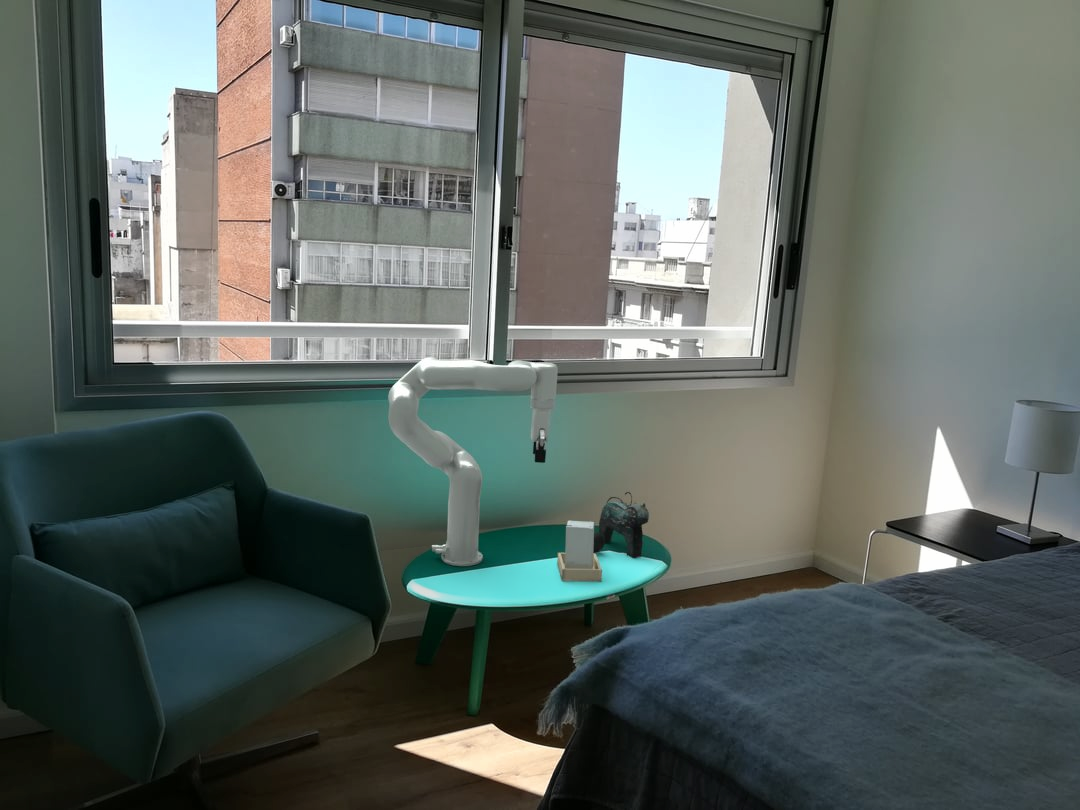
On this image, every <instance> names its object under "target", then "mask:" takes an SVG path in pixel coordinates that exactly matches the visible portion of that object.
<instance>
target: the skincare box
mask: <svg viewBox="0 0 1080 810" xmlns="http://www.w3.org/2000/svg"><path fill="white" fill-rule="evenodd" d="M594 533H595V522H594V521H583V520H581V521H580V520H567V524H566V525H565V552H564V553H565V568H569V569H593V545H594Z"/></svg>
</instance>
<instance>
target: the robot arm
mask: <svg viewBox="0 0 1080 810" xmlns="http://www.w3.org/2000/svg"><path fill="white" fill-rule="evenodd" d="M558 369H559V368H558V366H557V364H555V363H551V362H546V361H544V362H543V361H542V362H541V361H539V362H534V361H533V362H532V361H526V360H520V359H515V360H512V361H511V362H509V363H508V365H497V364H491V363H486V362H483V361H480V360H476V359H475V360H474V359H466V360H465V359H463V360H461V359H460V360H459V359H458V360H457V359H456V360H455V359H454V360H451V359H450V360H445V359H444V360H443V359H442V360H439V359H438V358H437V357H433V356H427V357H425V358H422V359H421V360H420V361H418V362H417V363H416V364H415V365H414V366H413V367H412V368H411V369H410V370H408V371H407V373H405V374H404V375H403V376H402V377H401V378H400V379H399V380H398V381H396V382H395V384H393V385H392V387H391V388H390V390H389V392H388V396H387V398H388V400H387V401H388V402H389V408H388V417H387V419H388V423H389V428H390V430H391V431H392V433H393V435H394V436H395V437H397V439H398V440H400V442H402V443H403V444H404V445H406V446H407V447H408V448H409V449H410V450H411V451H412V452H413V453H415V454H416V455H417V456H418V457H419V458H421V459H422V461H424V462H425V463H426V464H428V465H429V466H431V467H432V468H435V469H439V470H440V471H442V472H443V473H444V474H445V475H446V476H448V479H449V489H448V499H447V500H448V501H447V502H448V503H447V531H446V533H447V534H446V535H447V536H446V539H447V540H446V541H445V543H444V544H442V545H440V544H439V545H438V544H432V545H431V551H432V552H435V554H441V560H442V562H443V563H445V564H447V565H451V566H453V567H454V566H455V567H456V566H457V567H471V566H474V565H475V566H476V565H478V564H480V563H481V562H482V561H483V559H484V557H483V554H482V552H480V551H479V533H480V532H479V531H480V506H481V501H480V500H481V492H482V485H483V474H482V470H481V468H480V466H479V464H478V463H477V461H476V460H475V458H474V457H473V456H472V455H471V454H470V453H469V452H468V451H466V449H464V448H463V447H462V446H460V445H459V444H458V443H457V442H456V441H454V440H453V439H452V438H451V437H449V435H447V434H445V433H444V432H442V431H439V430H433V429H432V428H431V427H430V426H429V425H428V424H427V423H425V422H424V421H423V420H421V418H419V416H418V410H419V405H420V399H421V398H423V396H425V395H426V393H428V392H429V391H430V390H438V391H439V390H480V391H495V392H496V391H499V392H515V391H521V392H522V391H527V390H530V404H529V408H530V409H532V417H531V426H530V427H531V429H530V439H531V441H532V442H533V445H532V446H533V447H532V455H534V462H535V463H541V464H544V463H546V456H547V455H546V454H547V448H546V447H547V446H546V445H547V444H546V443H547V442H548V440H549V434H550V427H551V414H552V413H551V412H552V411H554V410H555V409H556V396H557V383H558V371H559V370H558Z"/></svg>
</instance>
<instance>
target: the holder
mask: <svg viewBox="0 0 1080 810" xmlns="http://www.w3.org/2000/svg"><path fill="white" fill-rule="evenodd" d="M556 563H557V567H558V568H557V569H558V572H559V575H560V578H561V581H562V582H591V583H592V582H596V583H598V582H599V583H600V582H602V577H603V569H602V567H601V563H600V561H599V559H598V557H597V554H596V552H595V553H593V569H569V568H565V552H557V561H556Z"/></svg>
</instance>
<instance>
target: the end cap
mask: <svg viewBox="0 0 1080 810" xmlns="http://www.w3.org/2000/svg"><path fill="white" fill-rule="evenodd" d="M604 547H605V544H604V538H603V536H602V534H601V533H600V532H599V531H596V532H595V531H594V545H593V553H595V554H596V553H599V552H601V551H602V550H603V549H604Z"/></svg>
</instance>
